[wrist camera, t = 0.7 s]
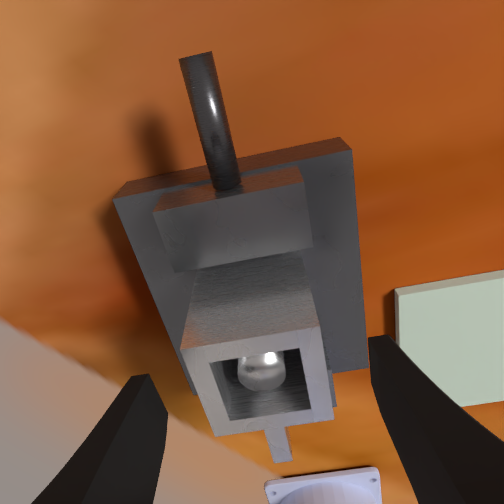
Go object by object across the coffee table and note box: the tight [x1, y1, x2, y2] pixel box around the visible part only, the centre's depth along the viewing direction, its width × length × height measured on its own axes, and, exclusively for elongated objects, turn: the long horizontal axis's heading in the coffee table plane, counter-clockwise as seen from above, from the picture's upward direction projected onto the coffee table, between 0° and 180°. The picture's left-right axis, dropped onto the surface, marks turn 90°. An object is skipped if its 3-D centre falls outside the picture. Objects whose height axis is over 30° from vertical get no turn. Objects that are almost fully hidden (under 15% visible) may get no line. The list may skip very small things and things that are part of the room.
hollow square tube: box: [180, 250, 334, 463], centre depth 15 cm, size 6×4×5 cm
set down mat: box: [394, 270, 504, 407], centre depth 20 cm, size 9×9×1 cm
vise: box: [112, 51, 369, 407], centre depth 14 cm, size 15×9×6 cm, turn 12°
